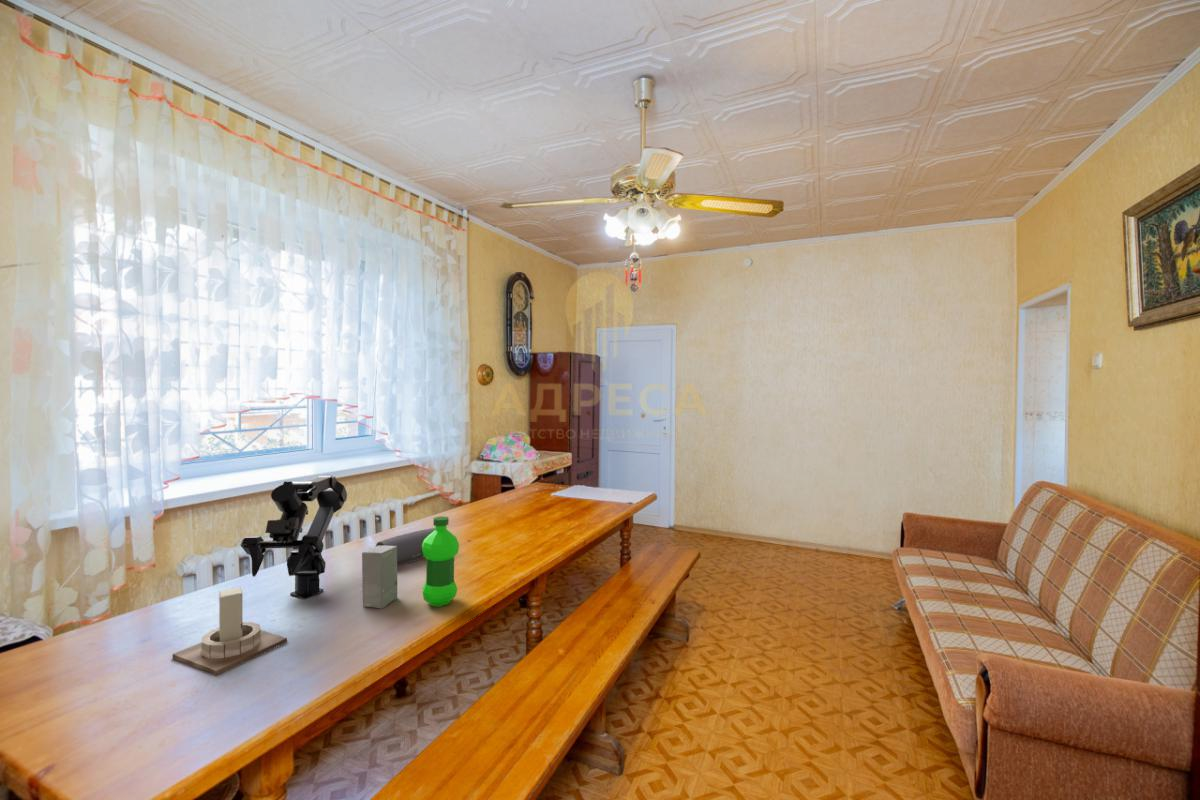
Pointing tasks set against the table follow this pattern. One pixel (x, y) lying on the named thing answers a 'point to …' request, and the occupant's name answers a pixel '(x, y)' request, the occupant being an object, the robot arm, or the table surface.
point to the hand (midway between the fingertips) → (272, 575)
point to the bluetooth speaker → (408, 545)
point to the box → (230, 614)
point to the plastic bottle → (440, 564)
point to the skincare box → (379, 576)
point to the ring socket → (228, 649)
